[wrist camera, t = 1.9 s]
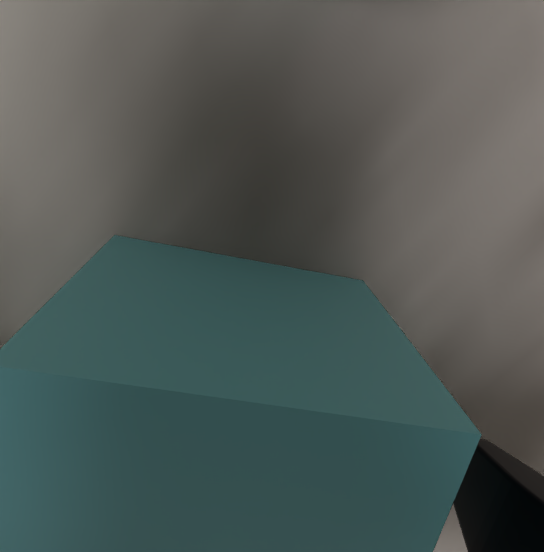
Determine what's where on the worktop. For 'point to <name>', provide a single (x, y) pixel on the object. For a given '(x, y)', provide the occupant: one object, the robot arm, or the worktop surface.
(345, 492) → the teal block
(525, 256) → the worktop surface
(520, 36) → the worktop surface
